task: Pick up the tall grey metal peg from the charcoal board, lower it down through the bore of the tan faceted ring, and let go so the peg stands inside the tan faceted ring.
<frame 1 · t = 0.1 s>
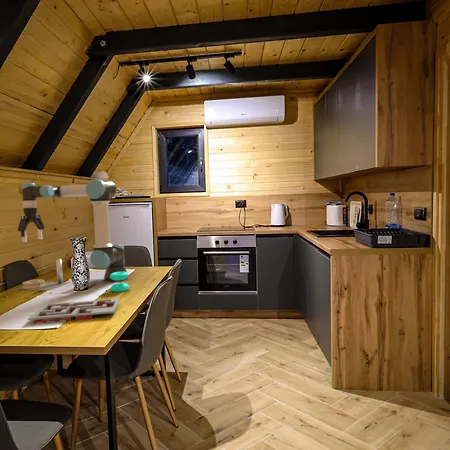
hand: (32, 240, 217), 28 cm above the table, tool pointing down, fingers open, 13 cm apart
peg: (60, 283, 211), point 1 cm above the table, touching board
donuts: (120, 290, 195), on the table
maze game: (78, 314, 156), on the table
board: (43, 288, 206), on the table
tan faceted ring: (34, 286, 205), point 1 cm above the table, touching board
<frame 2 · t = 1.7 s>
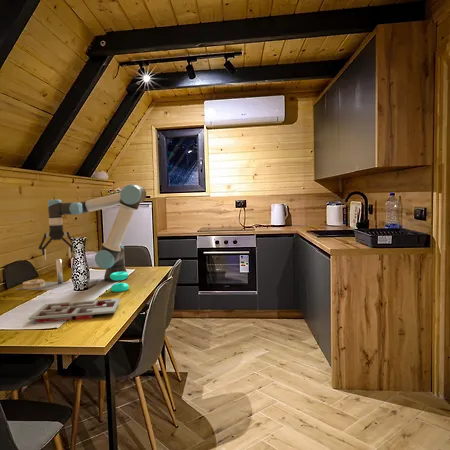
hand: (58, 259, 210), 17 cm above the table, tool pointing down, fingers open, 13 cm apart
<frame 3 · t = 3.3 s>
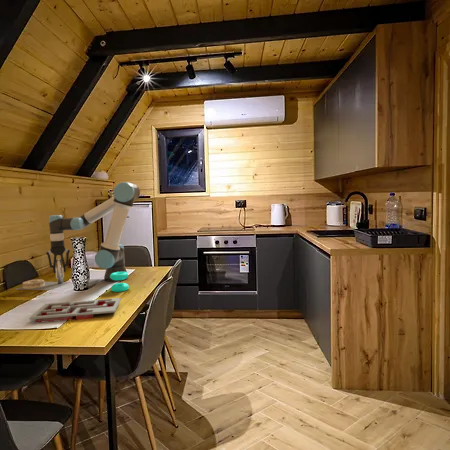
hand: (60, 277, 210), 5 cm above the table, tool pointing down, fingers closed on peg, 3 cm apart
peg: (60, 283, 211), point 1 cm above the table, touching board, gripper
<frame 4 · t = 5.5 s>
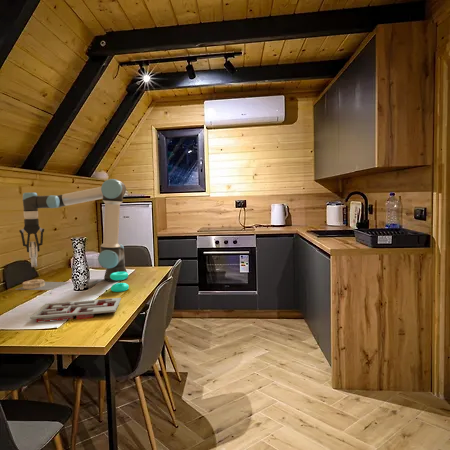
hand: (33, 257, 204), 19 cm above the table, tool pointing down, fingers closed on peg, 3 cm apart
peg: (34, 266, 205), point 14 cm above the table, touching gripper
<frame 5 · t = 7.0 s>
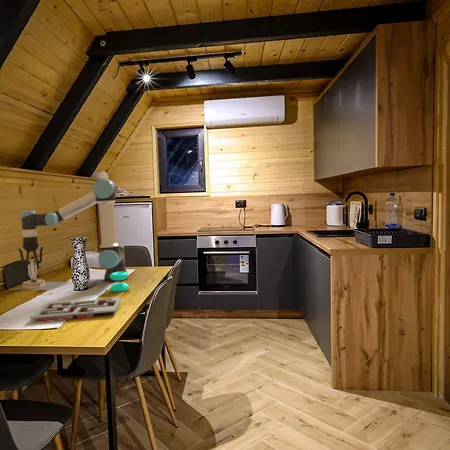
hand: (33, 274, 204), 9 cm above the table, tool pointing down, fingers closed on peg, 3 cm apart
peg: (33, 284, 205), point 3 cm above the table, touching gripper
when the fingers open (7 cm above the table, at t = 7.8 s): peg stays where it is, resting on board.
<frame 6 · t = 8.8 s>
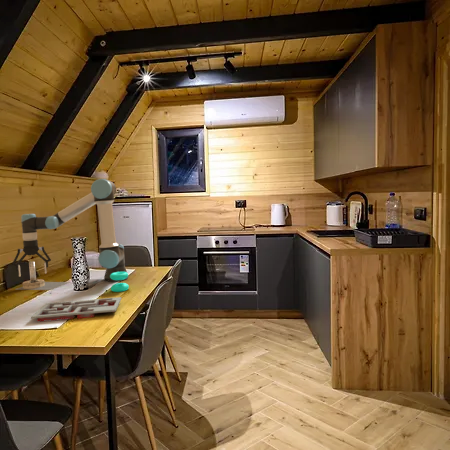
hand: (33, 274, 204), 9 cm above the table, tool pointing down, fingers open, 13 cm apart
peg: (33, 286, 205), point 2 cm above the table, touching board
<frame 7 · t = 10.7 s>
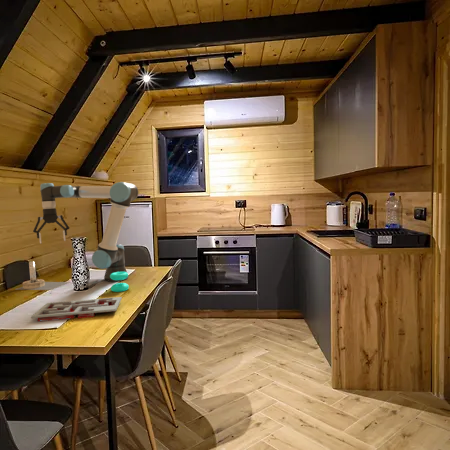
hand: (52, 242, 212), 27 cm above the table, tool pointing down, fingers open, 13 cm apart
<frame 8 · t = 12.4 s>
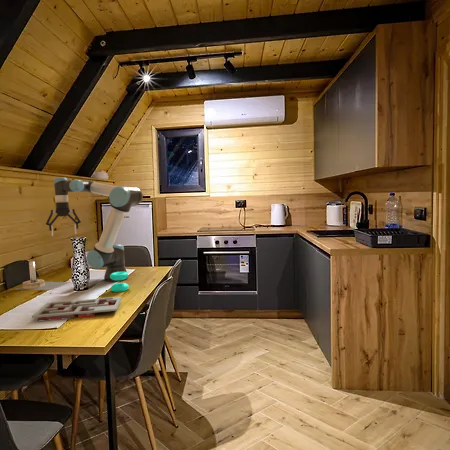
hand: (64, 234, 219), 31 cm above the table, tool pointing down, fingers open, 13 cm apart
at the end: peg 0.2 cm from the tan faceted ring (horizontally); peg point 1.5 cm above the table; the gripper is holding nothing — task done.
